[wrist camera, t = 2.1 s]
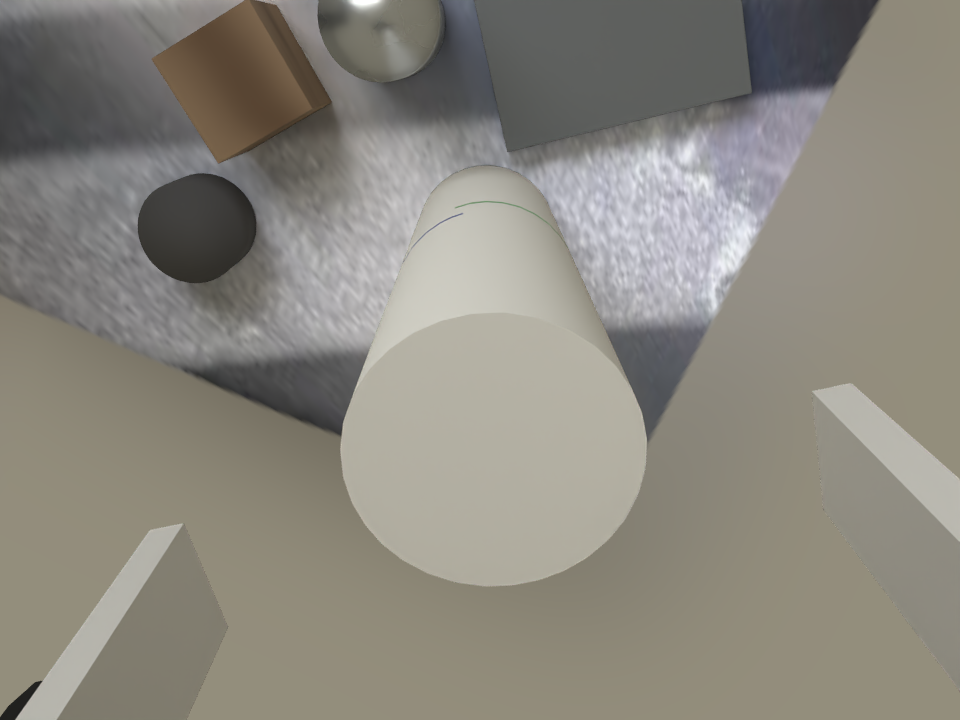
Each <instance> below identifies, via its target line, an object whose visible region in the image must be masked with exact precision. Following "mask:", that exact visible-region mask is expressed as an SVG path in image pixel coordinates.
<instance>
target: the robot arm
mask: <svg viewBox="0 0 960 720" xmlns="http://www.w3.org/2000/svg"><path fill="white" fill-rule="evenodd" d="M812 400H813V409H814V420H815V430H816V440H817V450H818V460H819V470H820V480H821V490H822V500H823V510H824V511H825V513H826V514H827V515H828V517H829V518H830V519H831V521H832V522H833V523H834V524H835V526H836V527H837V529H838V530H839V531H840V533H841V534H842V535H843V537H844V538H845V539H846V540H847V542H848V543H849V545H850V546H851V547H852V549H853V550H854V551H855V553H856V554H857V555H858V557H859V558H860V559H861V561H862V562H863V563H864V565H865V566H866V567H867V569H868V570H869V571H870V573H871V574H872V575H873V576H874V578H875V579H876V581H877V582H878V583H879V584H880V586H881V587H882V588H883V590H884V591H885V592H886V594H887V595H888V596H889V598H890V599H891V601H892V602H893V603H894V604H895V606H896V607H897V608H898V610H899V611H900V613H901V614H902V615H903V617H904V618H905V619H906V620H907V622H908V623H909V625H910V626H911V627H912V629H913V630H914V631H915V632H916V634H917V635H918V636H919V638H920V639H921V641H922V642H923V643H924V644H925V646H926V647H927V648H928V650H929V651H930V653H931V654H932V655H933V656H934V658H935V659H936V660H937V662H938V663H939V664H940V666H941V667H942V668H943V670H944V671H945V672H946V674H947V675H948V676H949V678H950V679H951V680H952V682H953V683H954V684H955V686H956V687H957V688H958V690H959V691H960V479H959V478H958V477H957V476H955V475H954V474H953V473H952V472H951V471H950V470H949V469H948V468H946V467H945V466H944V465H943V464H942V463H940V461H939V460H937V459H936V458H935V457H934V456H933V455H932V454H930V453H929V452H928V451H927V450H926V449H925V448H924V447H923V446H922V445H920V444H919V443H918V442H917V441H916V440H915V439H914V438H912V437H911V436H910V435H909V434H908V433H907V432H906V431H905V430H903V429H902V428H901V427H900V426H899V425H898V424H897V423H896V422H894V421H893V420H892V419H891V418H890V417H889V416H888V415H887V414H885V413H884V412H883V411H882V410H881V409H880V408H879V407H878V406H876V405H875V404H874V403H873V402H872V401H871V400H869V399H868V398H867V397H866V396H865V395H864V394H863V393H862V392H861V391H859V390H858V389H857V388H856V387H855V386H854V385H853V384H852V383H849V384H844V385H840V386H835V387H830V388H825V389H820V390H816V391H812ZM227 629H228V626H227V623H226V621H225V618H224V616H223V614H222V611H221V609H220V607H219V604H218V602H217V600H216V597H215V595H214V593H213V590H212V588H211V585H210V583H209V581H208V579H207V576H206V574H205V571H204V569H203V567H202V564H201V562H200V560H199V557H198V555H197V553H196V550H195V548H194V546H193V543H192V541H191V539H190V536H189V534H188V531H187V530H186V527H185V525H184V523H182V524H176V525H172V526H167V527H162V528H158V529H153V530H150V531H149V532H148V533H147V535H146V536H145V538H144V539H143V540H142V542H141V543H140V545H139V546H138V547H137V549H136V550H135V552H134V553H133V554H132V556H131V557H130V559H129V560H128V562H127V563H126V564H125V566H124V567H123V569H122V570H121V571H120V573H119V574H118V576H117V577H116V579H115V580H114V581H113V583H112V584H111V586H110V587H109V588H108V590H107V591H106V593H105V594H104V595H103V597H102V598H101V600H100V601H99V603H98V604H97V605H96V607H95V608H94V610H93V611H92V612H91V614H90V615H89V617H88V618H87V619H86V621H85V622H84V624H83V625H82V626H81V628H80V629H79V631H78V632H77V634H76V635H75V636H74V638H73V639H72V641H71V642H70V643H69V645H68V646H67V648H66V649H65V651H64V652H63V653H62V655H61V656H60V657H59V659H58V660H57V662H56V663H55V665H54V666H53V667H52V669H51V670H50V672H49V673H48V674H47V676H46V677H45V679H44V680H43V681H39V682H35V683H34V684H33V685H32V686H30V687H29V688H28V689H27V690H26V691H25V692H24V693H23V694H21V695H20V696H19V697H18V698H17V699H16V700H15V701H14V702H13V703H11V704H10V705H9V706H8V707H7V709H6V710H5V711H4V713H3V714H2V716H1V717H0V720H187V717H188V715H189V713H190V711H191V708H192V706H193V704H194V702H195V700H196V697H197V695H198V693H199V691H200V689H201V686H202V684H203V682H204V680H205V677H206V675H207V673H208V671H209V669H210V666H211V664H212V662H213V660H214V657H215V655H216V653H217V651H218V649H219V646H220V644H221V642H222V640H223V637H224V635H225V633H226V631H227Z"/></svg>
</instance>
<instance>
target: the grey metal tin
mask: <svg viewBox="0 0 960 720" xmlns="http://www.w3.org/2000/svg"><path fill="white" fill-rule="evenodd" d="M318 24H319V29H320V33H321V36H322V39H323V42H324V44H325V46H326V48H327V50H328V51H329V53H330V54H331V56H332V57H333V58H334V59H335V61H336V62H337V63H338V64H339V65H340V66H341V67H342V68H344V69H345V70H346V71H348V72H349V73H351V74H353V75H354V76H356V77H359V78H361V79H364V80H368V81H372V82H390V81H396V80H399V79H402V78H406V77H409V76H412V75H415V74H417V73H419V72H420V71H422V70H423V69H425V68H426V67H427V66H428V65H429V64H430V63H431V62H432V61H433V60H434V59H435V57H436V56H437V54H438V52H439V50H440V48H441V46H442V43H443V40H444V35H445V26H446V23H445V13H444V9H443V5H442V2H441V0H319V3H318Z"/></svg>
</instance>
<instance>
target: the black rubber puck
mask: <svg viewBox="0 0 960 720" xmlns="http://www.w3.org/2000/svg"><path fill="white" fill-rule="evenodd" d="M138 234H139V239H140V242H141V245H142V247H143V250H144V252H145V253H146V255H147V256H148V258H149V259H150V260H151V262H152V263H153V264H154V265H155V266H156V267H157V268H158V269H159V270H161V271H162V272H163V273H165V274H167V275H168V276H170V277H172V278H174V279H177V280H180V281H184V282H189V283H203V282H208V281H211V280H214V279H216V278H218V277H220V276H221V275H223V274H224V273H226V272H227V271H228V270H229V269H230V268H232V267H233V266H234V265H235V264H236V263H237V262H239V261H240V260H241V259H242V258H243V257H244V256H245V255H246V254H247V253H248V252H249V250H250V248H251V247H252V245H253V242H254V239H255V235H256V218H255V214H254V211H253V208H252V206H251V204H250V202H249V200H248V198H247V197H246V196H245V194H244V193H243V192H242V191H241V190H240V189H239V188H238V187H237V186H236V185H234V184H233V183H231V182H230V181H228V180H226V179H224V178H222V177H219V176H217V175H212V174H204V173H202V174H193V175H189V176H186V177H183V178H181V179H178V180H176V181H173V182H171V183H169V184H166V185H164V186H162V187H160V188H158V189H157V190H155V191H154V192H153V193H152V194H150V195H149V196H148V198H147V199H146V200H145V202H144V204H143V205H142V208H141V210H140V213H139V218H138Z"/></svg>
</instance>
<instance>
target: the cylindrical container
mask: <svg viewBox="0 0 960 720" xmlns="http://www.w3.org/2000/svg"><path fill="white" fill-rule="evenodd" d="M646 451H647V437H646V432H645V426H644V421H643V416H642V412H641V409H640V407H639V405H638V402H637V400H636V397H635V395H634V393H633V390H632V388H631V386H630V384H629V381H628V379H627V377H626V375H625V373H624V370H623V368H622V366H621V364H620V362H619V359H618V357H617V355H616V353H615V351H614V348H613V346H612V344H611V342H610V340H609V337H608V335H607V333H606V331H605V329H604V326H603V324H602V322H601V320H600V318H599V315H598V313H597V311H596V309H595V307H594V304H593V302H592V300H591V298H590V296H589V293H588V291H587V289H586V287H585V285H584V282H583V280H582V278H581V276H580V274H579V271H578V269H577V267H576V265H575V263H574V260H573V258H572V256H571V254H570V252H569V249H568V247H567V245H566V243H565V241H564V238H563V236H562V234H561V232H560V230H559V227H558V225H557V223H556V221H555V219H554V216H553V214H552V212H551V210H550V208H549V205H548V203H547V201H546V199H545V198H544V196H543V195H542V193H541V192H540V190H539V189H538V188H537V187H536V186H535V185H534V184H533V183H532V182H531V181H529V180H528V179H526V178H525V177H523V176H522V175H520V174H519V173H517V172H514V171H512V170H509V169H507V168H503V167H497V166H491V165H489V166H475V167H471V168H467V169H463V170H461V171H459V172H457V173H454V174H452V175H451V176H449V177H448V178H447V179H445V180H444V181H442V182H441V183H440V184H439V185H438V186H437V187H436V189H435V190H434V191H433V192H432V193H431V195H430V197H429V198H428V200H427V201H426V203H425V205H424V208H423V210H422V213H421V215H420V218H419V221H418V223H417V226H416V228H415V231H414V234H413V236H412V239H411V242H410V244H409V247H408V250H407V253H406V255H405V258H404V261H403V264H402V266H401V269H400V271H399V274H398V277H397V279H396V282H395V284H394V287H393V290H392V292H391V295H390V297H389V300H388V303H387V305H386V308H385V310H384V313H383V316H382V318H381V321H380V323H379V326H378V329H377V331H376V334H375V337H374V340H373V342H372V345H371V348H370V350H369V353H368V356H367V359H366V361H365V364H364V367H363V369H362V372H361V375H360V377H359V380H358V383H357V386H356V388H355V391H354V394H353V396H352V399H351V402H350V405H349V408H348V410H347V413H346V416H345V419H344V422H343V429H342V438H341V447H340V455H341V463H342V472H343V479H344V482H345V484H346V487H347V490H348V493H349V496H350V499H351V502H352V504H353V506H354V507H355V509H356V511H357V512H358V514H359V516H360V518H361V519H362V521H363V522H364V524H365V525H366V527H368V529H369V530H370V531H371V532H372V533H373V535H374V536H375V537H376V538H377V539H378V540H379V542H380V543H382V544H383V545H384V546H385V547H386V548H388V549H389V550H390V551H391V552H393V553H394V554H395V555H397V556H398V557H399V558H400V559H401V560H403V561H405V562H407V563H409V564H411V565H412V566H414V567H416V568H418V569H420V570H422V571H424V572H426V573H428V574H431V575H434V576H437V577H440V578H443V579H446V580H449V581H452V582H456V583H463V584H471V585H478V586H507V585H517V584H522V583H527V582H532V581H537V580H541V579H544V578H547V577H549V576H552V575H554V574H557V573H560V572H562V571H565V570H567V569H568V568H570V567H572V566H573V565H575V564H577V563H579V562H581V561H582V560H584V559H586V558H587V557H589V556H590V555H591V554H592V553H593V552H595V551H596V550H597V549H598V548H599V547H601V546H602V545H603V544H604V543H606V542H607V541H608V540H609V539H610V537H611V536H612V535H613V534H614V532H615V531H616V530H617V529H618V528H619V526H620V525H621V524H622V523H623V521H624V520H625V519H626V517H627V515H628V513H629V512H630V510H631V508H632V506H633V504H634V502H635V500H636V498H637V496H638V494H639V491H640V487H641V483H642V480H643V476H644V472H645V468H646Z"/></svg>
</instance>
